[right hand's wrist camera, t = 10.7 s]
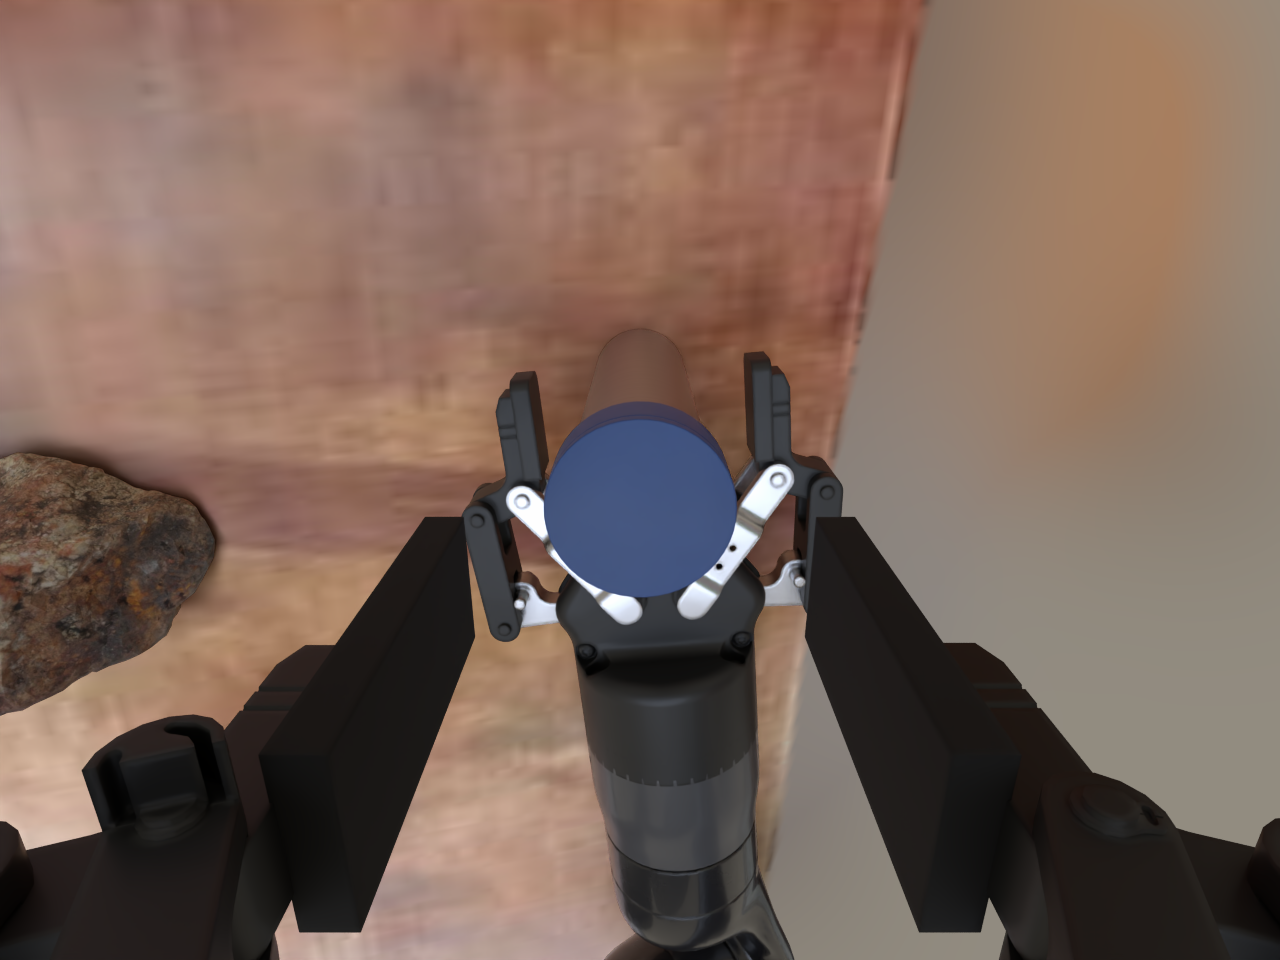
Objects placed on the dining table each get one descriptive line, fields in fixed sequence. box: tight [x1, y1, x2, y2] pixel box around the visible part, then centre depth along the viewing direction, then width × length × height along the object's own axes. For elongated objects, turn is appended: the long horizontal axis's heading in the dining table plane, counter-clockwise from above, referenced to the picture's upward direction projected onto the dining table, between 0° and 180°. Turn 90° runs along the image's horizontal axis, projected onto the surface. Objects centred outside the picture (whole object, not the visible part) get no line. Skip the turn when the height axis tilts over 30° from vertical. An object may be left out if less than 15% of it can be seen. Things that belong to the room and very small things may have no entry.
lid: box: [544, 401, 737, 597], centre depth 18 cm, size 5×5×2 cm
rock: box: [0, 452, 215, 716], centre depth 32 cm, size 14×9×10 cm
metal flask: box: [580, 329, 700, 423], centre depth 25 cm, size 4×4×16 cm
